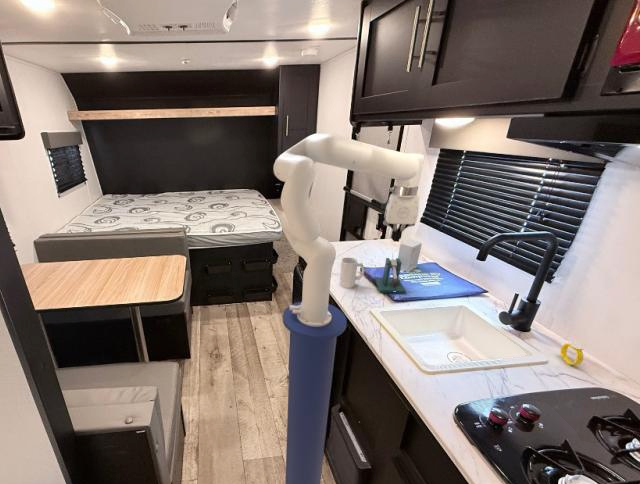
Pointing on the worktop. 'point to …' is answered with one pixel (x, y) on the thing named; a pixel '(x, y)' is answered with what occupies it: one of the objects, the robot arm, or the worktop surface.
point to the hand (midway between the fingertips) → (395, 240)
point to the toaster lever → (394, 273)
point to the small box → (409, 254)
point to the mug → (349, 272)
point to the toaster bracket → (389, 279)
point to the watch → (578, 351)
